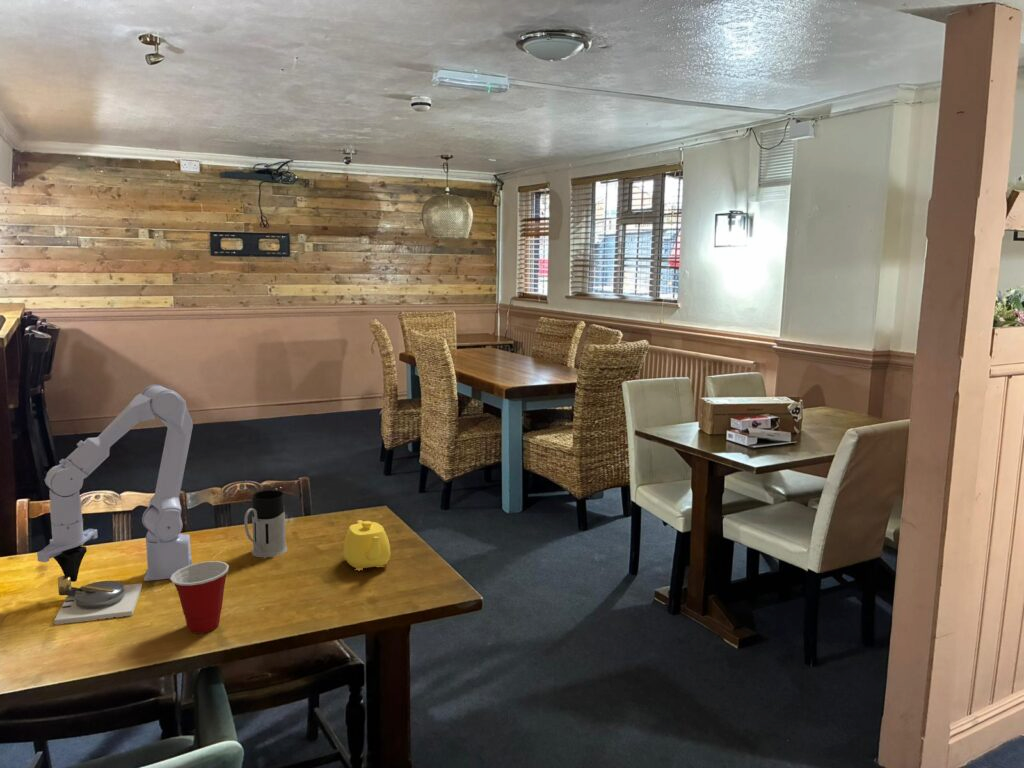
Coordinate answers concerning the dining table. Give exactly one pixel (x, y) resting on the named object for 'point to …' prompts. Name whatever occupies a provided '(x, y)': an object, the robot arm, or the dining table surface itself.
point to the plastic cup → (201, 594)
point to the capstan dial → (92, 592)
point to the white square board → (99, 608)
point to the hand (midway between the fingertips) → (71, 581)
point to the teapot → (366, 545)
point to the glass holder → (267, 524)
